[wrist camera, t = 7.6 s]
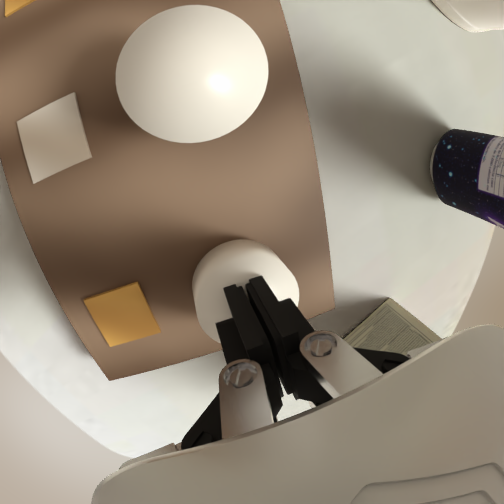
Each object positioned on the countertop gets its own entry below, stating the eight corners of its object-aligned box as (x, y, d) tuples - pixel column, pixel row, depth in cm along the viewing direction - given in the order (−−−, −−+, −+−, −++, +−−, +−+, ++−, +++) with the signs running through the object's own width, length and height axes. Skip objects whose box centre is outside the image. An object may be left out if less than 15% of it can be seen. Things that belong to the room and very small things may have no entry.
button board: (2, -24, 6) (-13, -37, 4) (229, -94, 8) (238, -113, 6) (112, 358, 17) (109, 383, 15) (320, 292, 19) (336, 310, 17)
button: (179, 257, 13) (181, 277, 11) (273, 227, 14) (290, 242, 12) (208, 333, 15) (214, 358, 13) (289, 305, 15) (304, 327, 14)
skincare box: (348, 371, 23) (427, 480, 12) (328, 348, 21) (420, 476, 10) (405, 322, 23) (500, 413, 12) (392, 292, 21) (508, 394, 10)
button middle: (115, 45, 8) (103, 28, 6) (236, 16, 8) (250, -4, 6) (142, 157, 10) (136, 163, 8) (262, 124, 10) (282, 123, 8)
